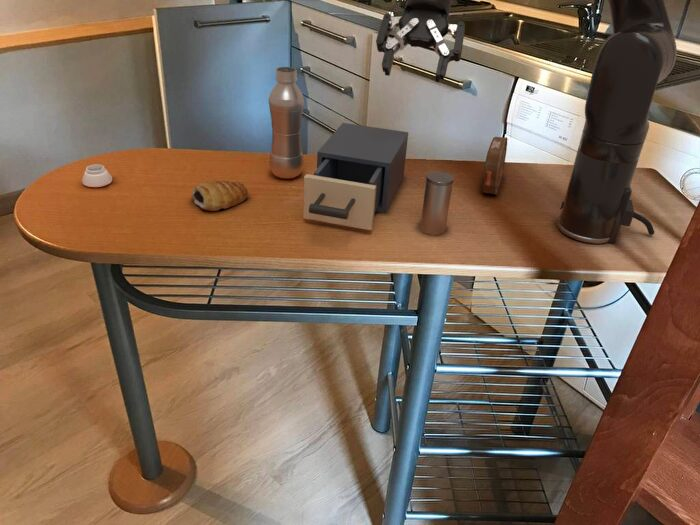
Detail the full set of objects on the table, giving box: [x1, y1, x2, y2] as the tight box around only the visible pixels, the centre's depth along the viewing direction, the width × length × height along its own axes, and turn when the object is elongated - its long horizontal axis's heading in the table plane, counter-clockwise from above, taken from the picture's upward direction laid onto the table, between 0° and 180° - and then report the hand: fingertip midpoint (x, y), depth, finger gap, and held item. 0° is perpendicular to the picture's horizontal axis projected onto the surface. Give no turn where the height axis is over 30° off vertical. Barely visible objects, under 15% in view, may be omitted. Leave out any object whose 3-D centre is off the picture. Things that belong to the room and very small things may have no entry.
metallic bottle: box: [268, 66, 305, 179], centre depth 113 cm, size 6×7×20 cm
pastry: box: [191, 179, 249, 212], centre depth 107 cm, size 9×7×4 cm
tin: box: [481, 136, 508, 196], centre depth 118 cm, size 15×3×8 cm, turn 161°
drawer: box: [303, 158, 385, 231], centre depth 103 cm, size 20×12×8 cm, turn 165°
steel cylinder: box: [419, 171, 455, 236], centre depth 101 cm, size 4×4×10 cm
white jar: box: [81, 163, 113, 188], centre depth 110 cm, size 5×3×5 cm
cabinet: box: [316, 122, 409, 214], centre depth 113 cm, size 16×13×9 cm
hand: (412, 76), depth 102 cm, fingers open, 8 cm apart
